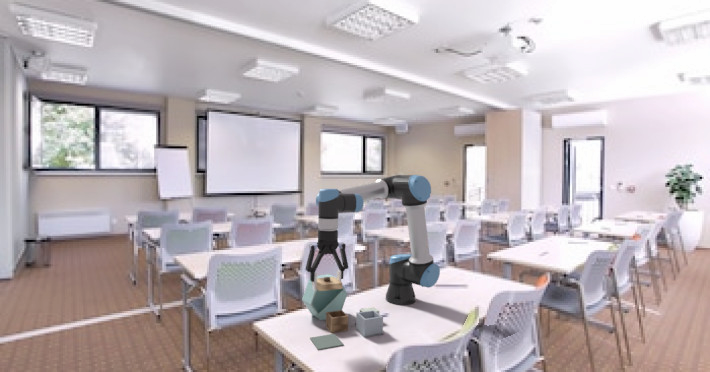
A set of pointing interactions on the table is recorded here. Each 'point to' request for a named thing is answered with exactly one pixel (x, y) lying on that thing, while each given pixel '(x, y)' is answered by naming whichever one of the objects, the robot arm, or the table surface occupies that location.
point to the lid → (328, 284)
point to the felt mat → (326, 341)
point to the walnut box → (336, 321)
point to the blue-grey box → (369, 323)
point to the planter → (323, 299)
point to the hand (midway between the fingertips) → (326, 288)
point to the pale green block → (369, 309)
